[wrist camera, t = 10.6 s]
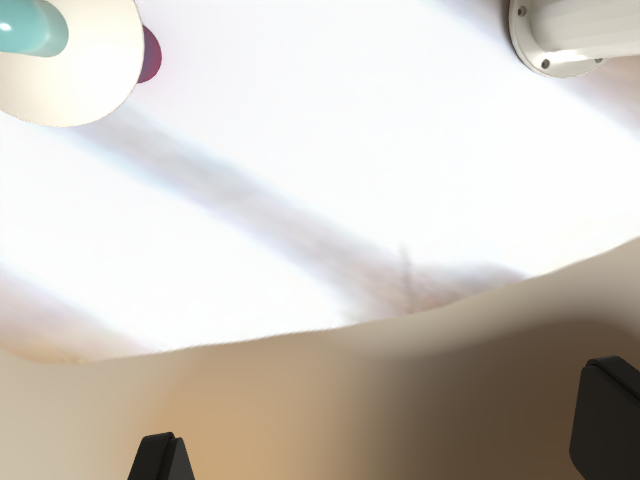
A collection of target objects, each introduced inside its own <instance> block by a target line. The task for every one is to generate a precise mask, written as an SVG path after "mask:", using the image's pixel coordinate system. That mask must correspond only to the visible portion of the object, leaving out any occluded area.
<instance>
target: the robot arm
mask: <svg viewBox="0 0 640 480" xmlns="http://www.w3.org/2000/svg"><path fill="white" fill-rule="evenodd" d="M518 11H519V14H518ZM509 31H510V35H511V39H512V43H513V46H514V48H515V50H516V52H517V54H518V56H519V57H520V58H521V60H522V61H523V62H524V64H525V65H526V66H528V67H529V68H530V69H531V70H532V71H534V72H536V73H538V74H540V75H542V76H546V77H550V78H571V77H577V76H580V75H583V74H586V73H588V72H590V71H592V70H594V69H596V68H598V67H599V66H600V65H602V64H603V63H604V62H605V61H607V60H608V59H609V58H610V57H622V56H633V55H640V0H510V7H509ZM541 64H542V66H541ZM569 453H570V458H571V460H572V462H573V464H574V466H575V467H576V469H577V470H578V471H579V472H580V473H581V475H582V476H583V477H584V478H585V480H640V372H639V371H638V370H636V369H635V368H634V367H633V366H631V365H630V364H629V363H627V362H626V361H625V360H623V359H622V358H620V357H619V356H615V355H614V356H607V357H601V358H595V359H590V360H589V361H588V362H587V364H586V367H584V368H583V369H582V371H581V377H580V383H579V390H578V396H577V403H576V409H575V416H574V422H573V429H572V435H571V442H570V448H569ZM127 480H195V478H194V475H193V471H192V468H191V465H190V462H189V458H188V455H187V451H186V448H185V444H184V442H183V439H182V438H181V437H179V438H175V437H174V434H173V433H172V432H167V433H161V434H155V435H149V436H145V437H144V438H143V439H142V441H141V443H140V446H139V448H138V452H137V454H136V457H135V460H134V463H133V465H132V468H131V471H130V474H129V477H128V479H127Z"/></svg>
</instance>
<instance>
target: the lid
mask: <svg viewBox="0 0 640 480" xmlns="http://www.w3.org/2000/svg"><path fill="white" fill-rule="evenodd" d="M144 48H145V46H144V32H143V26H142V21H141V17H140V14H139V10H138V7H137V5H136V2H135V0H0V110H2V111H3V112H5V113H7V114H9V115H11V116H13V117H16V118H18V119H20V120H23V121H26V122H30V123H33V124H37V125H42V126H50V127H71V126H76V125H82V124H87V123H90V122H93V121H96V120H99V119H101V118H103V117H105V116H107V115H109V114H110V113H112V112H113V111H114V110H116V109H117V108H118V107H119V106H120V105H121V104H122V103H123V102H124V101H125V100H126V99H127V98H128V96H129V95H130V94H131V92H132V91H133V89H134V87H135V85H136V83H137V81H138V78H139V76H140V73H141V69H142V65H143V60H144Z"/></svg>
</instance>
